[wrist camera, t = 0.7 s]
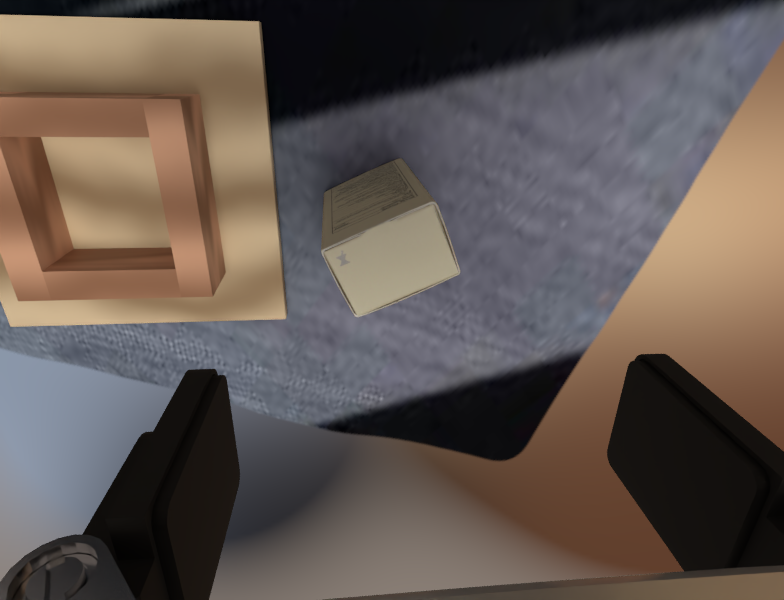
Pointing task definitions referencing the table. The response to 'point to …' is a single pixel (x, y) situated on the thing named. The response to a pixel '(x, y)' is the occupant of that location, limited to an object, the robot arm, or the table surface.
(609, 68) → the table surface
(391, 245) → the skincare box
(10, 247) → the socket stand
